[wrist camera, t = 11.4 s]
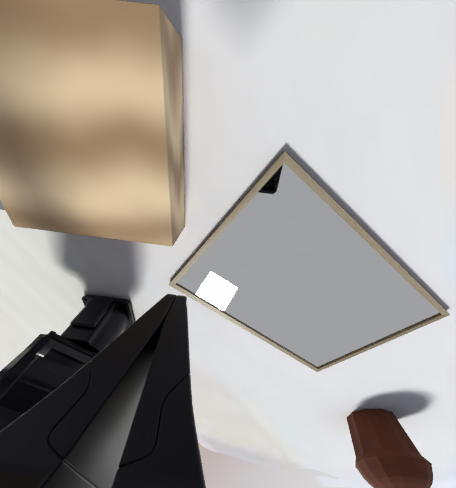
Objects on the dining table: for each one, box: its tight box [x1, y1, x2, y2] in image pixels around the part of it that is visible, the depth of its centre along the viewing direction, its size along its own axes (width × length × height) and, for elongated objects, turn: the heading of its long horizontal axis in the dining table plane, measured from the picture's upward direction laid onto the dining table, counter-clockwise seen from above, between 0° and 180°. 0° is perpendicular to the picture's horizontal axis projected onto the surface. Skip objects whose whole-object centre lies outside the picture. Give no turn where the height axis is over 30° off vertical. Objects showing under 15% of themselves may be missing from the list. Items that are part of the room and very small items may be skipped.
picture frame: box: [169, 151, 450, 372], centre depth 24 cm, size 19×1×28 cm
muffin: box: [347, 409, 433, 488], centre depth 35 cm, size 12×11×10 cm
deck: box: [0, 0, 185, 246], centre depth 15 cm, size 14×14×4 cm
